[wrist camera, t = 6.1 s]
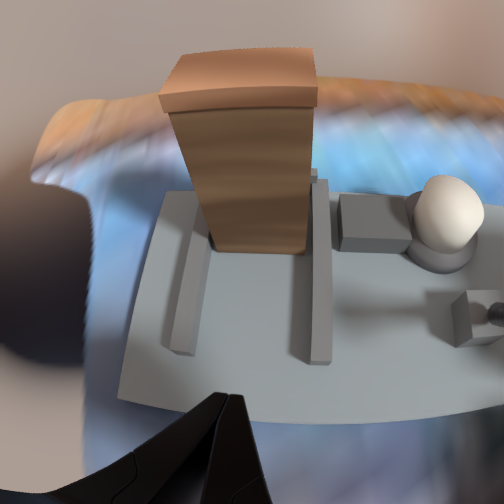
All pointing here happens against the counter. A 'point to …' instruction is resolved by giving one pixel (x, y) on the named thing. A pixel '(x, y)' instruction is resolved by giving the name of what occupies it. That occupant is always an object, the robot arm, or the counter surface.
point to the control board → (327, 311)
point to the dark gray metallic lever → (496, 314)
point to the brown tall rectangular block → (247, 143)
